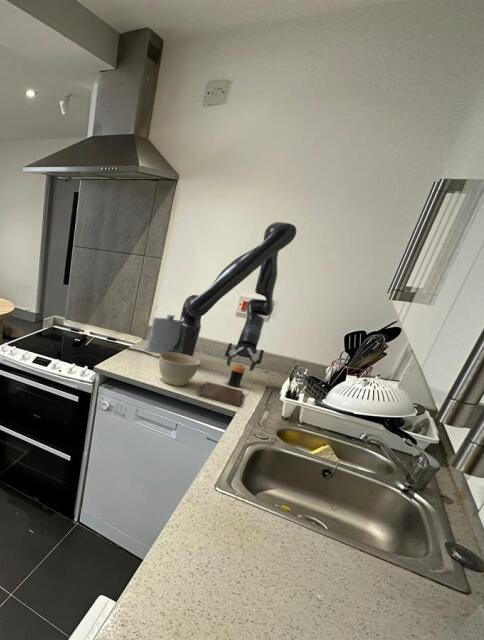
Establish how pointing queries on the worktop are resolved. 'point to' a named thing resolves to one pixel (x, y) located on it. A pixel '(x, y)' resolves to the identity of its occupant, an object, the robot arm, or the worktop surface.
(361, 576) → the worktop surface
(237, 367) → the battery
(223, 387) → the walnut board
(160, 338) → the hip flask
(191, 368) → the planter bowl
